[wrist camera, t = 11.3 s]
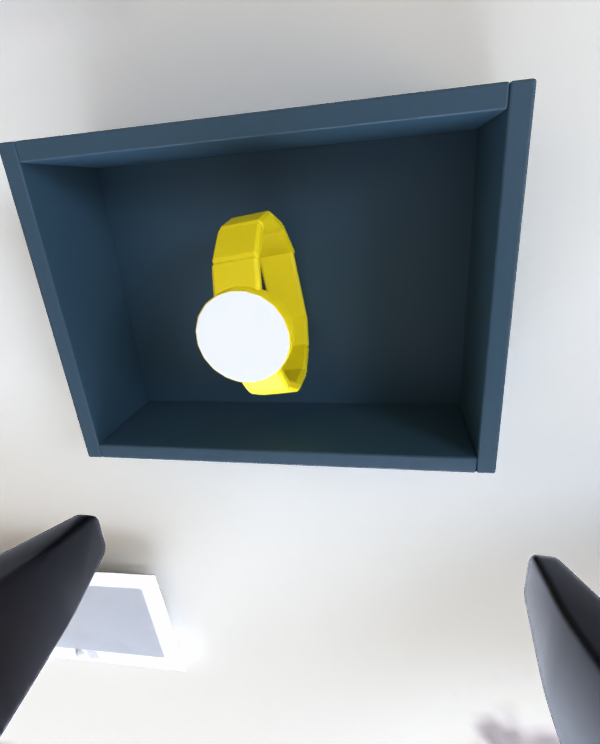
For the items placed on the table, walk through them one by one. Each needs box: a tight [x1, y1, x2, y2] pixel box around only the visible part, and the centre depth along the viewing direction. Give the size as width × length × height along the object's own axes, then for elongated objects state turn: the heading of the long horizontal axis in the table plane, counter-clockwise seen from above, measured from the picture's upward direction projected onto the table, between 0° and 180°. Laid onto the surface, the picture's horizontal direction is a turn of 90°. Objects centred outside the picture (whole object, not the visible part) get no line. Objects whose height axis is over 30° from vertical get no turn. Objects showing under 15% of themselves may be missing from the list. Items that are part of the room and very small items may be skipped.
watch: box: [196, 211, 309, 395], centre depth 15 cm, size 6×3×6 cm, turn 11°
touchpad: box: [49, 572, 186, 671], centre depth 28 cm, size 8×15×2 cm, turn 98°
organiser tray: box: [0, 79, 536, 473], centre depth 16 cm, size 15×11×5 cm
